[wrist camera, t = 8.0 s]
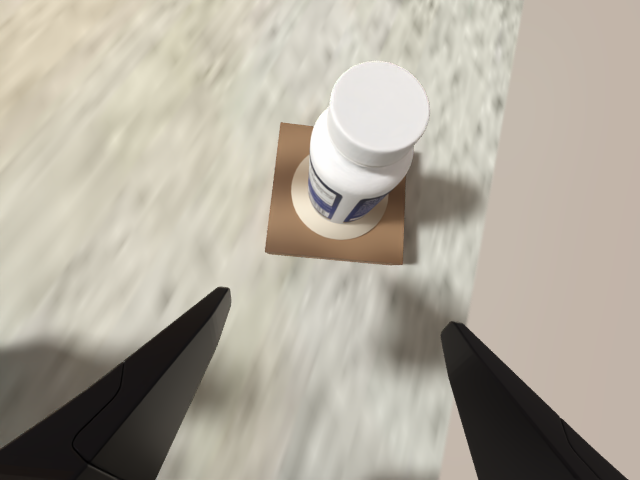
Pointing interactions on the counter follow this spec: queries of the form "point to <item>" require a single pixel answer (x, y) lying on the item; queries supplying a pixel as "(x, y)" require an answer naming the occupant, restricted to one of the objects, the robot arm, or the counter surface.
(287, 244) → the walnut base
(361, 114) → the pill bottle
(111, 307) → the counter surface
